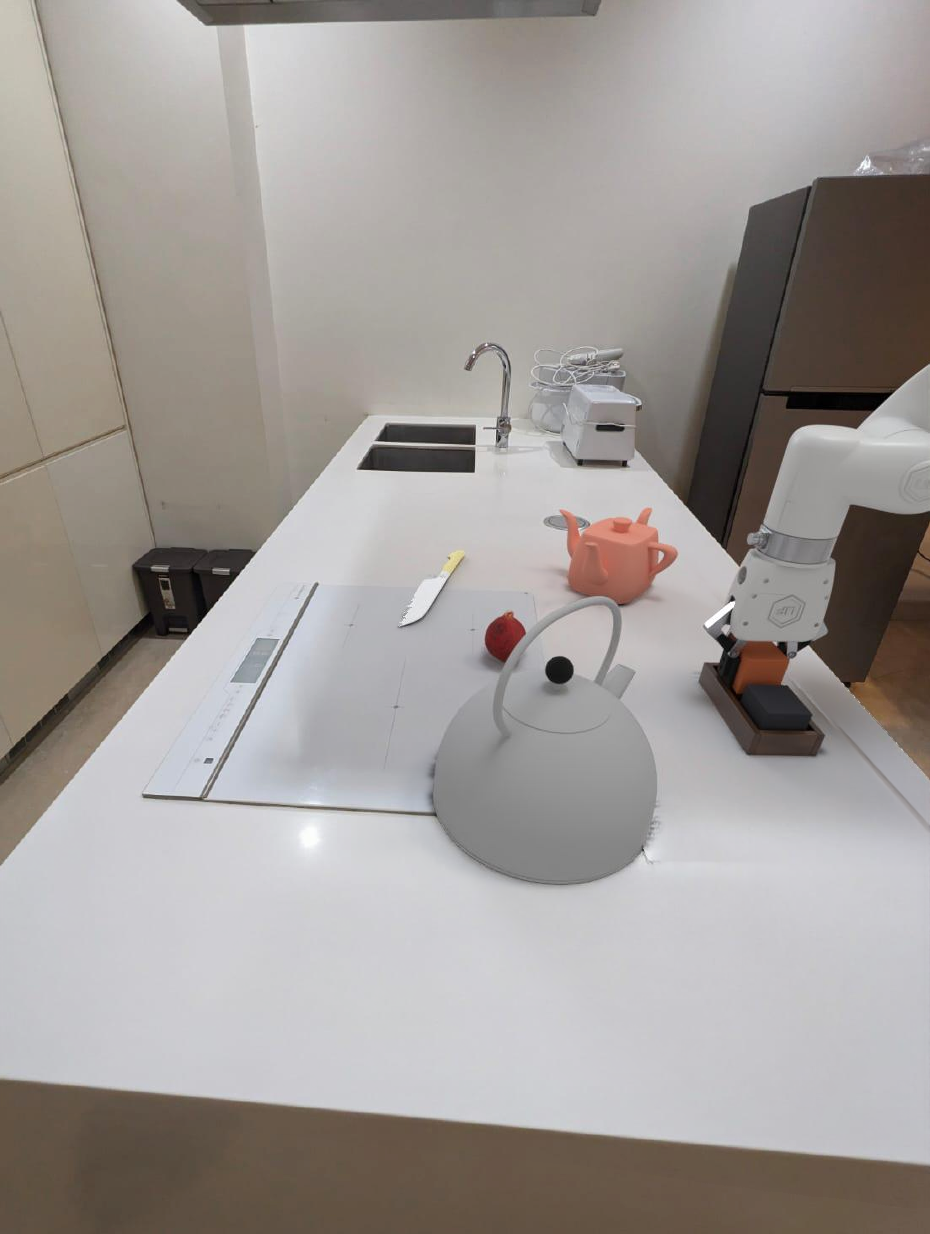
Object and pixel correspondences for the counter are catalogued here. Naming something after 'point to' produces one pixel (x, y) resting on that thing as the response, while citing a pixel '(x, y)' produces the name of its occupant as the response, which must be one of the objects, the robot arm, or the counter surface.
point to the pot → (615, 557)
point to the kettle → (549, 769)
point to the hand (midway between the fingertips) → (747, 678)
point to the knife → (430, 590)
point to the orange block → (760, 665)
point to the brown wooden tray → (746, 729)
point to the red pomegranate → (503, 636)
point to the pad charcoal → (775, 708)
